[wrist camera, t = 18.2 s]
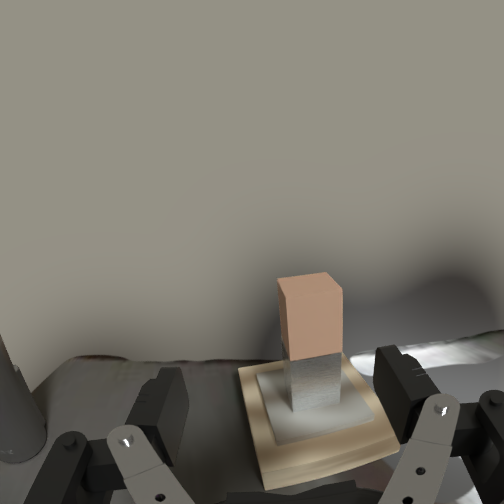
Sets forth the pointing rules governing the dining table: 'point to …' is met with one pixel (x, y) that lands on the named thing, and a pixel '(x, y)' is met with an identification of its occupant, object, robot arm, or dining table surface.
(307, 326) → the tapered tan block
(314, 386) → the housing base
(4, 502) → the dining table surface
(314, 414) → the stand
